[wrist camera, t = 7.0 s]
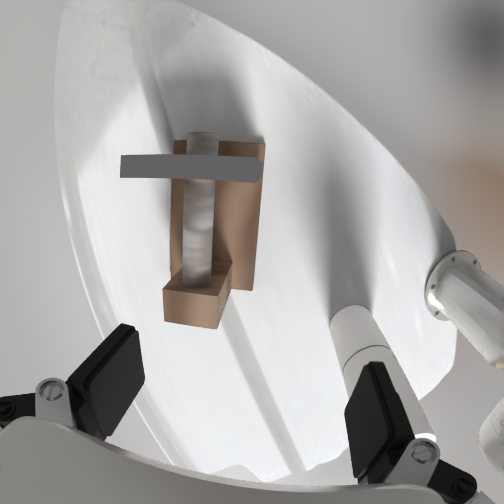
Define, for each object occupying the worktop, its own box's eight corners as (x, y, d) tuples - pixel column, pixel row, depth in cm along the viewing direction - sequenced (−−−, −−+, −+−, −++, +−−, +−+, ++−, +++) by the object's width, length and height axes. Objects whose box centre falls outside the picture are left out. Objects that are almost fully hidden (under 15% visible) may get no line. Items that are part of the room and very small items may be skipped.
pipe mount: (265, 144, 35) (261, 133, 23) (252, 287, 40) (244, 332, 29) (177, 141, 35) (137, 132, 24) (173, 278, 41) (140, 316, 30)
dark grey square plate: (263, 162, 32) (257, 158, 21) (261, 178, 33) (255, 183, 22) (168, 157, 33) (121, 155, 22) (167, 173, 34) (120, 177, 22)
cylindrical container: (346, 350, 43) (384, 478, 19) (320, 325, 42) (351, 464, 18) (379, 323, 41) (443, 444, 17) (356, 296, 40) (422, 424, 16)
